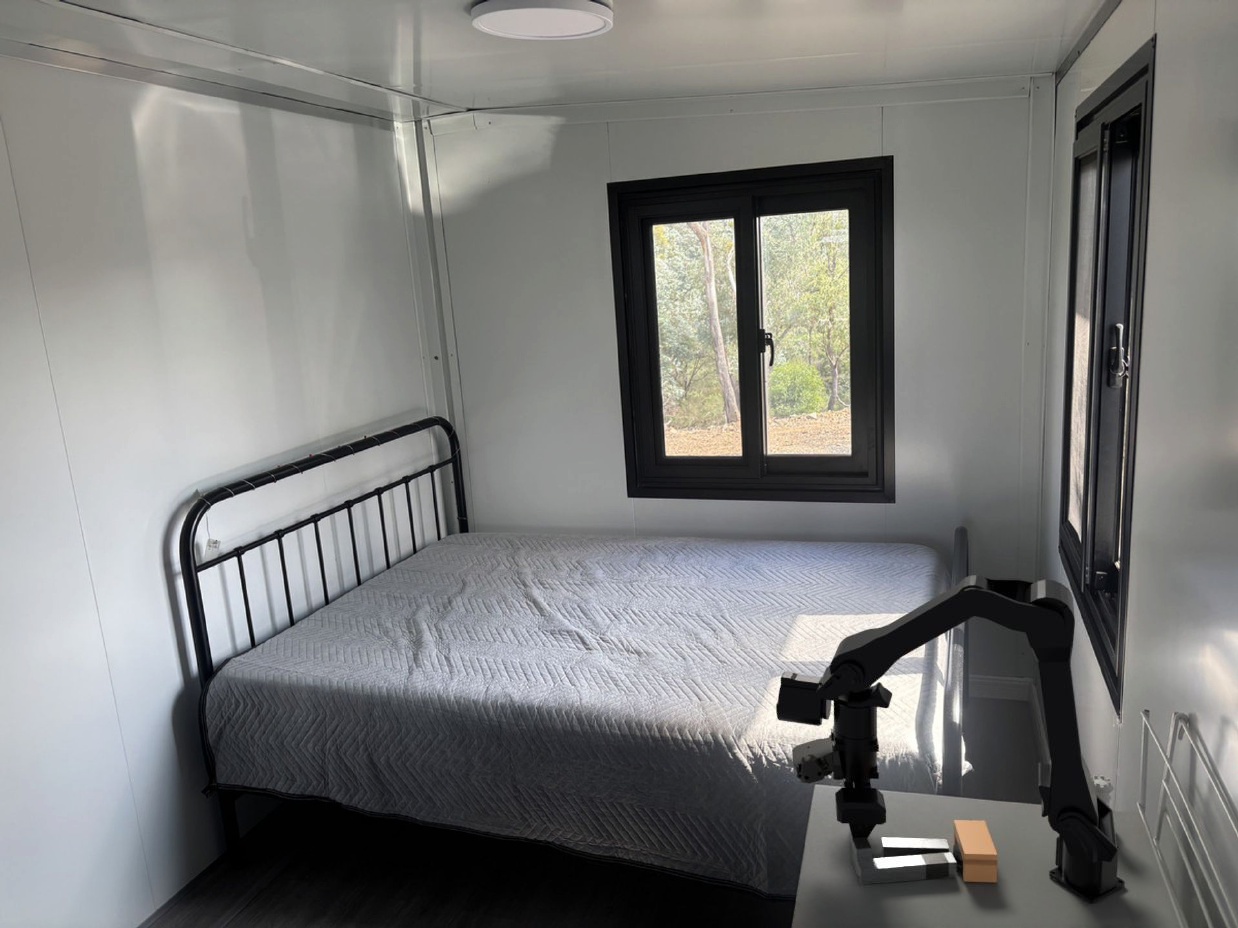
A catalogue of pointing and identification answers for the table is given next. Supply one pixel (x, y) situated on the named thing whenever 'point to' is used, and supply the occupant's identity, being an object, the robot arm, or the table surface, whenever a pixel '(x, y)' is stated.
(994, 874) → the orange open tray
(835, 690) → the robot arm
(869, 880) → the arm
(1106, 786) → the rook chess piece
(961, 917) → the table surface
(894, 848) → the tongs fixed
